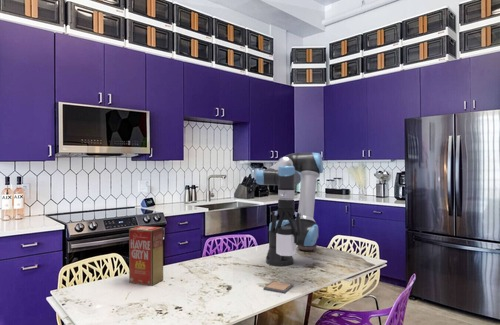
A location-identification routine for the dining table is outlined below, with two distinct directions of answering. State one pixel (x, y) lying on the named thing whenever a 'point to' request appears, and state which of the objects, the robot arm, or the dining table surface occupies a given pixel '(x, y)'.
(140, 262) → the food packaging
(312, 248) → the flowerpot
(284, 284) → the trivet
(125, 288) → the dining table surface
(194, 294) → the dining table surface
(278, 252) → the jar
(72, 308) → the dining table surface
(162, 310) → the dining table surface
